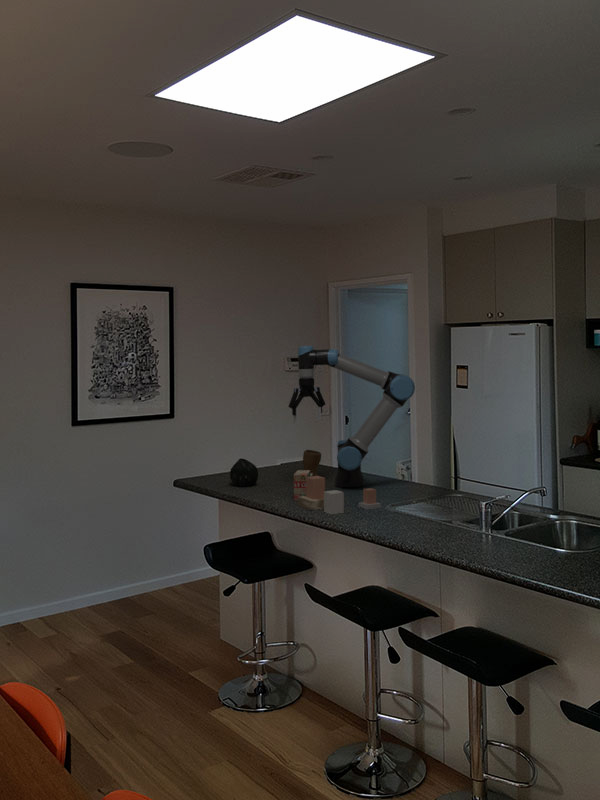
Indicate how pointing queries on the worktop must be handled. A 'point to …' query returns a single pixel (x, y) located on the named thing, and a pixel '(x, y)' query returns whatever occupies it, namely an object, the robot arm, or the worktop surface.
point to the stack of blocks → (300, 482)
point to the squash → (243, 473)
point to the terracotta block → (315, 487)
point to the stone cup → (311, 461)
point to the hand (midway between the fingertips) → (307, 421)
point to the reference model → (369, 499)
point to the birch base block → (310, 503)
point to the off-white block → (333, 502)
